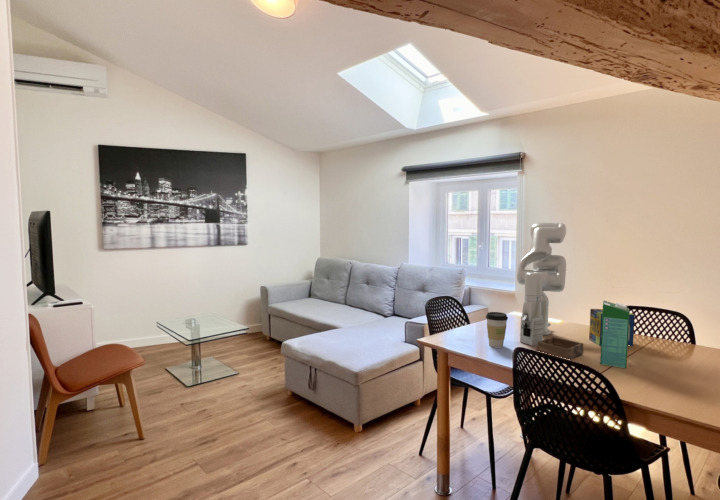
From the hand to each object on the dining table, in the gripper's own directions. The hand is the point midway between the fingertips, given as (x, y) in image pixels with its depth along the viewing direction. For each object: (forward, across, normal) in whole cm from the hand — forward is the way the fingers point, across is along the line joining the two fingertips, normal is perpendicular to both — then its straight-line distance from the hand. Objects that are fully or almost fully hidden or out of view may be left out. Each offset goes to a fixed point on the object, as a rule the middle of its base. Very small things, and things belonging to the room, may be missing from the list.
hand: (531, 334), depth 194 cm
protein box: (+4, -30, +23) cm, 38 cm away
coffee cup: (+4, +17, -8) cm, 19 cm away
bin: (+4, +5, +16) cm, 17 cm away
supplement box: (+4, 0, 0) cm, 4 cm away
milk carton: (+4, -1, +35) cm, 35 cm away
